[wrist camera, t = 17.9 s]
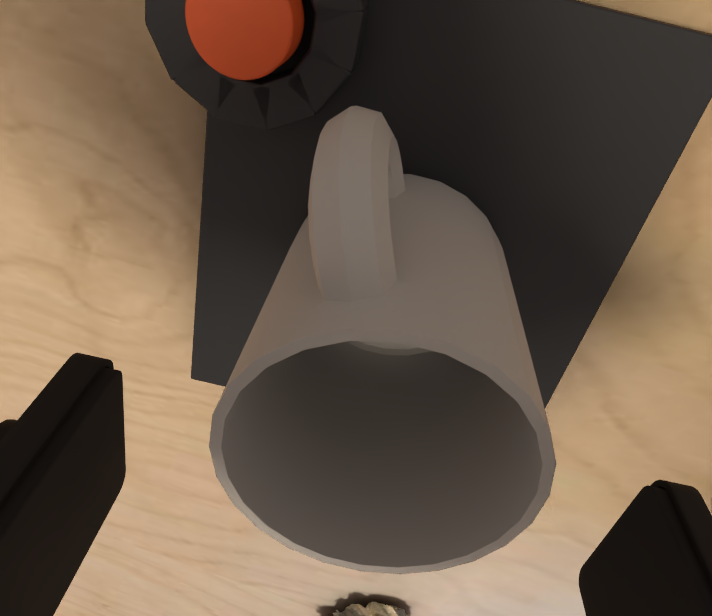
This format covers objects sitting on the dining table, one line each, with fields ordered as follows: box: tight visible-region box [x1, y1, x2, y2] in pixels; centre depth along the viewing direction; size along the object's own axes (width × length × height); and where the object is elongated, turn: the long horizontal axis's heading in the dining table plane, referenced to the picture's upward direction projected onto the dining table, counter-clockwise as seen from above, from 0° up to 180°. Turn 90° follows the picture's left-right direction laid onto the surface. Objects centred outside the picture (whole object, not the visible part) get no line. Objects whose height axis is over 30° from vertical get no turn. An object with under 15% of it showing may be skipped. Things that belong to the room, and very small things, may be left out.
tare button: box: [185, 0, 305, 80], centre depth 14 cm, size 3×3×2 cm
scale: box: [145, 0, 712, 408], centre depth 19 cm, size 17×15×3 cm
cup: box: [209, 106, 556, 574], centre depth 15 cm, size 7×10×9 cm
